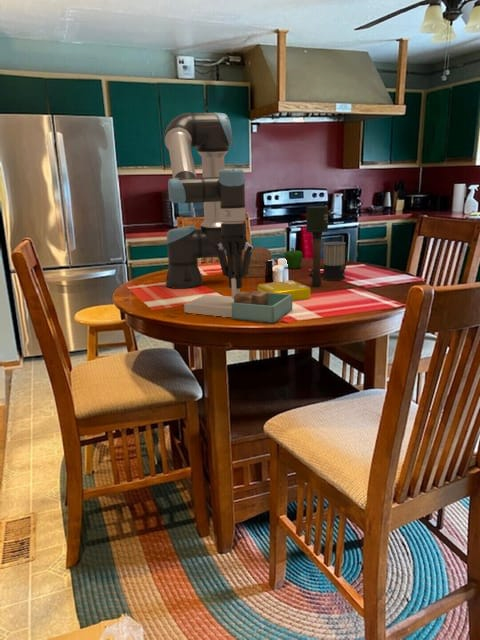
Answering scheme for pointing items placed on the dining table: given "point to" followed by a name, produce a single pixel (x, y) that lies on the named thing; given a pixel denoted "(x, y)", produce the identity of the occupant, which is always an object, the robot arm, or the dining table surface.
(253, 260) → the bread
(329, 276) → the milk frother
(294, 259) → the bell pepper
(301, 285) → the element tile
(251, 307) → the tray
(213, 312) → the board
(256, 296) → the front tile
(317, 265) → the stick grenade
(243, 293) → the rear tile
